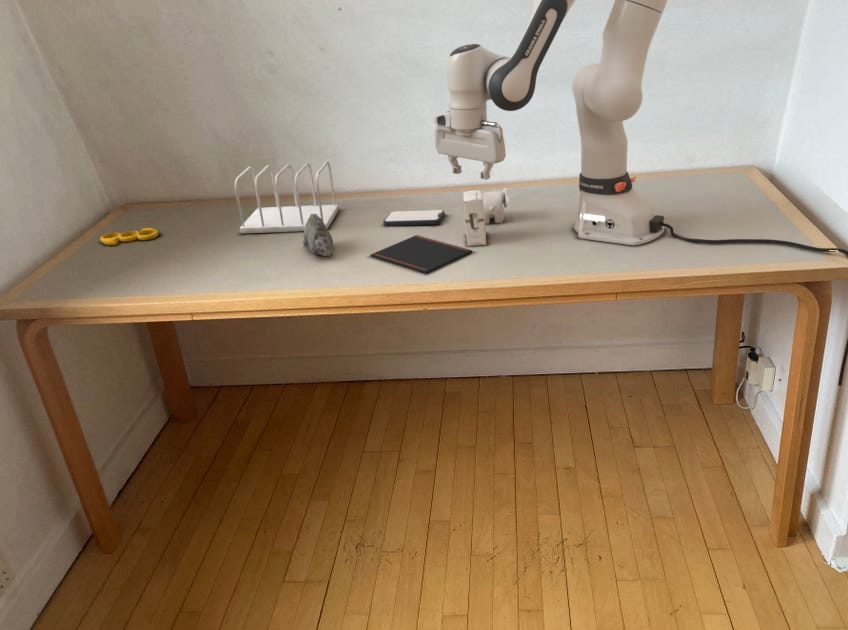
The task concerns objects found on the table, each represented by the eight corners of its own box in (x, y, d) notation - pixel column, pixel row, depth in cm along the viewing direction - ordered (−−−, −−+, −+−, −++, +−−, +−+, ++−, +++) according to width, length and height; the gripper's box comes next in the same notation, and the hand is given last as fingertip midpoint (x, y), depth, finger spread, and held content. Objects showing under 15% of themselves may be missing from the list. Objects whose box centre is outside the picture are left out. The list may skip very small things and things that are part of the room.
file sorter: (240, 234, 218) (228, 180, 211) (258, 214, 233) (248, 163, 226) (326, 230, 215) (317, 175, 207) (339, 210, 230) (331, 158, 222)
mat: (472, 252, 191) (472, 250, 191) (426, 274, 182) (426, 271, 181) (416, 237, 204) (416, 234, 204) (370, 256, 195) (370, 254, 194)
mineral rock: (328, 262, 194) (322, 224, 189) (289, 262, 196) (282, 224, 191) (345, 244, 204) (340, 207, 199) (308, 243, 207) (301, 207, 202)
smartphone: (383, 227, 214) (439, 225, 210) (382, 221, 213) (438, 220, 209) (391, 216, 222) (445, 214, 218) (390, 211, 221) (445, 209, 217)
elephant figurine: (507, 210, 216) (506, 179, 212) (510, 225, 206) (509, 192, 201) (473, 213, 217) (471, 182, 212) (474, 228, 206) (472, 195, 202)
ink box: (466, 234, 203) (463, 190, 197) (485, 233, 202) (483, 189, 196) (466, 246, 195) (463, 201, 189) (486, 245, 195) (484, 199, 189)
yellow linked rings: (152, 242, 219) (163, 230, 228) (151, 237, 218) (162, 225, 227) (95, 247, 220) (108, 235, 228) (94, 242, 219) (106, 230, 228)
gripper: (510, 120, 179) (511, 179, 186) (447, 112, 192) (450, 167, 199) (492, 125, 175) (494, 185, 182) (429, 117, 188) (433, 173, 195)
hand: (471, 176), depth 190 cm, fingers open, 8 cm apart
